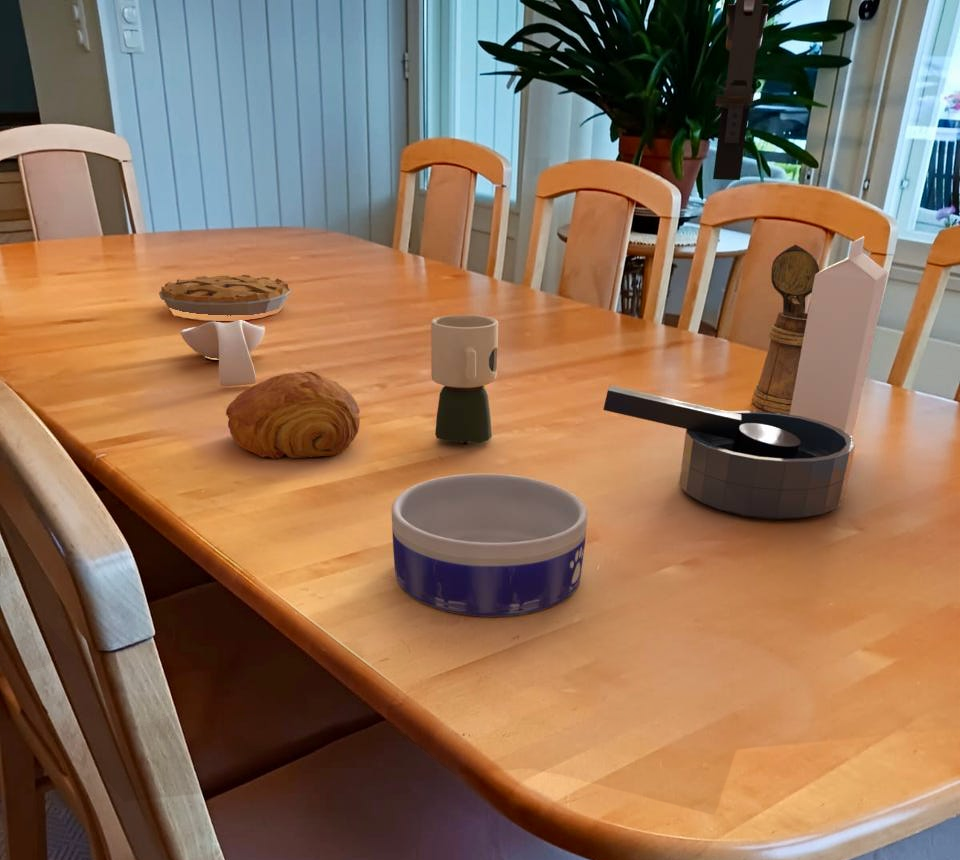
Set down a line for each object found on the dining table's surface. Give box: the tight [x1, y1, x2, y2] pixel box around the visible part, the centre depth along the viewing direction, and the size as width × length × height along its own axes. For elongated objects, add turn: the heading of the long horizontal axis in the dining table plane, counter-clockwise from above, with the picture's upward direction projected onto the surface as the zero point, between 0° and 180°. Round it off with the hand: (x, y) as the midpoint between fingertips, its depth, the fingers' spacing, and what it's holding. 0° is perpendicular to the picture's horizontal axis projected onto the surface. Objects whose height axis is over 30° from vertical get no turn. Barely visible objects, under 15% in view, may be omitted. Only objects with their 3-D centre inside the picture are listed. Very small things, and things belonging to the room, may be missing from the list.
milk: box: [790, 236, 889, 438], centre depth 102 cm, size 6×6×22 cm
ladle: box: [603, 384, 800, 459], centre depth 95 cm, size 19×6×6 cm, turn 77°
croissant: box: [225, 371, 361, 460], centre depth 106 cm, size 14×16×8 cm
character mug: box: [430, 314, 499, 446], centre depth 105 cm, size 11×7×13 cm, turn 9°
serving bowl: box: [678, 410, 856, 520], centre depth 94 cm, size 16×16×6 cm
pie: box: [158, 274, 292, 316], centre depth 167 cm, size 22×22×5 cm
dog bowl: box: [391, 473, 588, 618], centre depth 77 cm, size 15×15×6 cm
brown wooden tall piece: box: [751, 244, 820, 415], centre depth 121 cm, size 9×14×18 cm, turn 178°
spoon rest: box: [180, 320, 266, 387], centre depth 134 cm, size 24×12×7 cm, turn 19°
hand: (726, 175), depth 105 cm, fingers open, 13 cm apart
